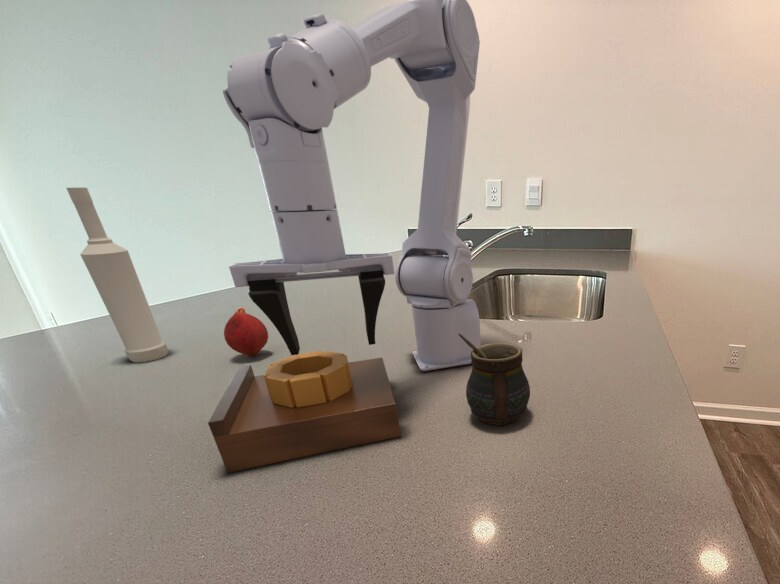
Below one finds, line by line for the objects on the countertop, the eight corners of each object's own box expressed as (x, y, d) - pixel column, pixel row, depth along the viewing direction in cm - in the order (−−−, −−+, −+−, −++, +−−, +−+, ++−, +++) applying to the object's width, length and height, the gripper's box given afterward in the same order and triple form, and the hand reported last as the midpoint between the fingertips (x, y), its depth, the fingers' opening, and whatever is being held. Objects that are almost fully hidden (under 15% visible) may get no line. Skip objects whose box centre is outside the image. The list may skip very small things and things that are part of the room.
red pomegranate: (255, 364, 63) (239, 313, 59) (223, 362, 64) (206, 312, 60) (281, 351, 68) (268, 303, 64) (251, 349, 69) (237, 302, 66)
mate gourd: (536, 428, 44) (537, 341, 40) (467, 436, 43) (460, 347, 39) (524, 398, 51) (523, 320, 46) (463, 404, 50) (456, 325, 45)
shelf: (387, 384, 55) (380, 346, 53) (400, 436, 43) (393, 390, 41) (253, 407, 50) (239, 366, 48) (227, 473, 38) (207, 422, 36)
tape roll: (350, 370, 50) (346, 347, 48) (353, 398, 43) (347, 372, 42) (277, 381, 47) (270, 357, 46) (268, 413, 40) (259, 385, 39)
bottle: (121, 360, 65) (41, 188, 55) (157, 349, 70) (89, 188, 59) (141, 364, 64) (62, 187, 53) (176, 353, 68) (110, 187, 57)
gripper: (202, 215, 33) (252, 370, 38) (388, 209, 37) (407, 348, 43) (223, 212, 38) (263, 347, 44) (381, 207, 43) (399, 330, 49)
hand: (334, 346), depth 44 cm, fingers open, 7 cm apart
